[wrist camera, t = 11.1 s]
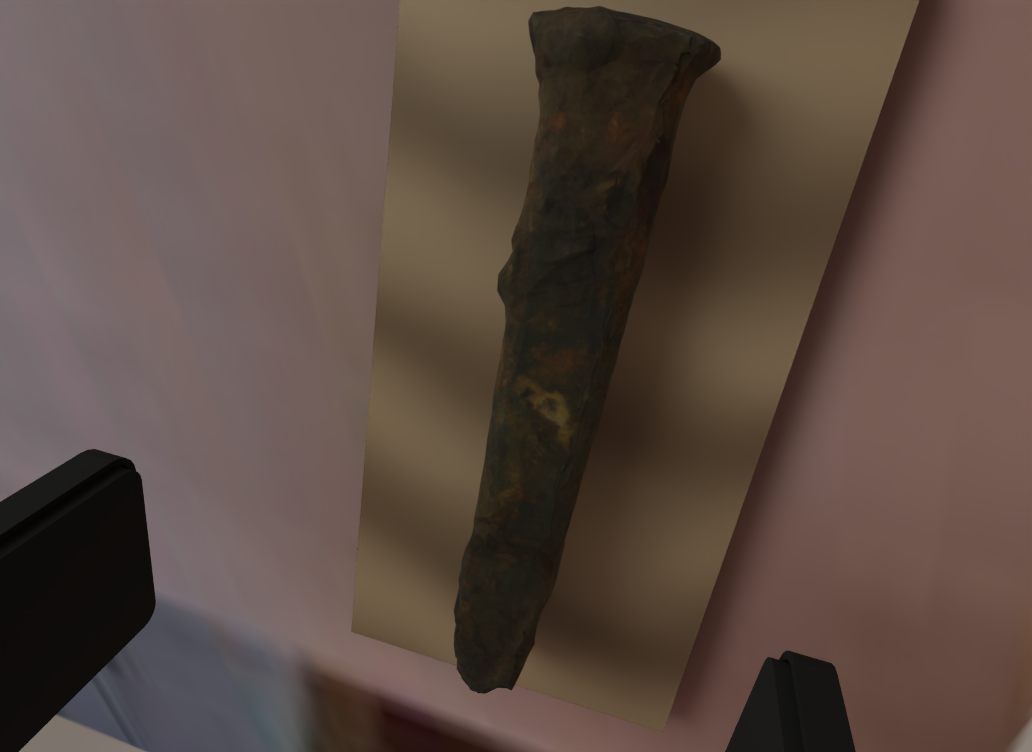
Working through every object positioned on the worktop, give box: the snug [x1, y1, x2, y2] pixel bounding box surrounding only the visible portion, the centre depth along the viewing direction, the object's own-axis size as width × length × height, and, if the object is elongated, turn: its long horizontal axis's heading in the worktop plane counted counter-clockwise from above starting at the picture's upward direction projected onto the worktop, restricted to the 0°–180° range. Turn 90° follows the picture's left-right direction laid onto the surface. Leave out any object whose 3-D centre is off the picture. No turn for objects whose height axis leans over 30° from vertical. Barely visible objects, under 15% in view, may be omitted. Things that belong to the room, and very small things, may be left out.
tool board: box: [351, 0, 919, 732], centre depth 21 cm, size 24×12×2 cm, turn 170°
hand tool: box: [454, 6, 721, 694], centre depth 18 cm, size 19×4×5 cm, turn 167°
